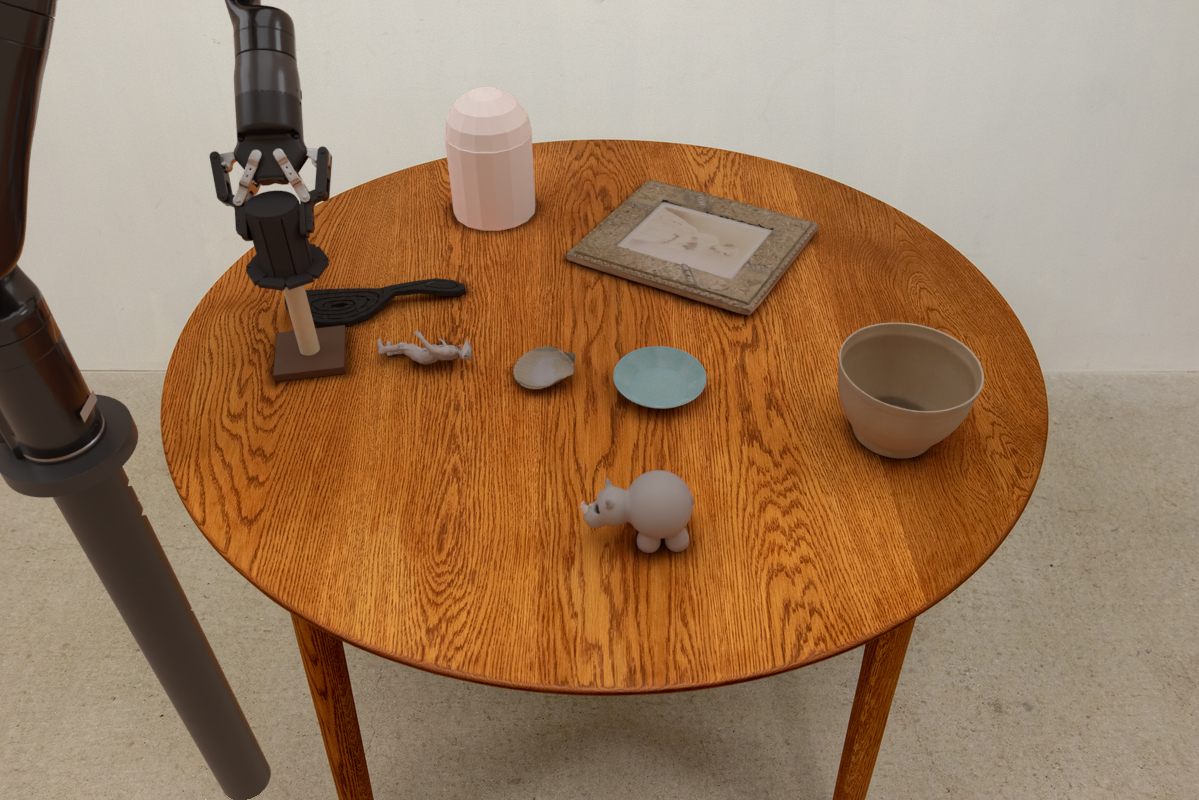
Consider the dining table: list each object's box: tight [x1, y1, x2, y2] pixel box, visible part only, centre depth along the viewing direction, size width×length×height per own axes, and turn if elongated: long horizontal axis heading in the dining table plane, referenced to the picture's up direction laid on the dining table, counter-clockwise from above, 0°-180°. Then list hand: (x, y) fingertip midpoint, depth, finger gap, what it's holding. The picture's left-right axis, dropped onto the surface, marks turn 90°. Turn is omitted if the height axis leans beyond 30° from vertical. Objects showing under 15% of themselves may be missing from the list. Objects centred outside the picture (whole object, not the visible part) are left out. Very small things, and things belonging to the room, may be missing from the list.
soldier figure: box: [376, 330, 473, 366], centre depth 124 cm, size 8×5×12 cm
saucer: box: [612, 345, 707, 410], centre depth 120 cm, size 12×12×2 cm
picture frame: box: [565, 179, 820, 316], centre depth 145 cm, size 27×30×3 cm
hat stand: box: [272, 285, 347, 383], centre depth 121 cm, size 9×9×16 cm
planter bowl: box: [837, 321, 985, 459], centre depth 112 cm, size 16×16×11 cm
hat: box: [245, 190, 330, 292], centre depth 113 cm, size 10×10×9 cm
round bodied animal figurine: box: [580, 469, 695, 554], centre depth 100 cm, size 7×12×8 cm, turn 90°
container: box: [444, 86, 536, 232], centre depth 147 cm, size 14×13×20 cm
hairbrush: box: [283, 277, 467, 328], centre depth 133 cm, size 8×4×25 cm
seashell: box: [512, 345, 577, 390], centre depth 122 cm, size 8×3×8 cm
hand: (276, 237), depth 112 cm, fingers closed on hat, 6 cm apart
